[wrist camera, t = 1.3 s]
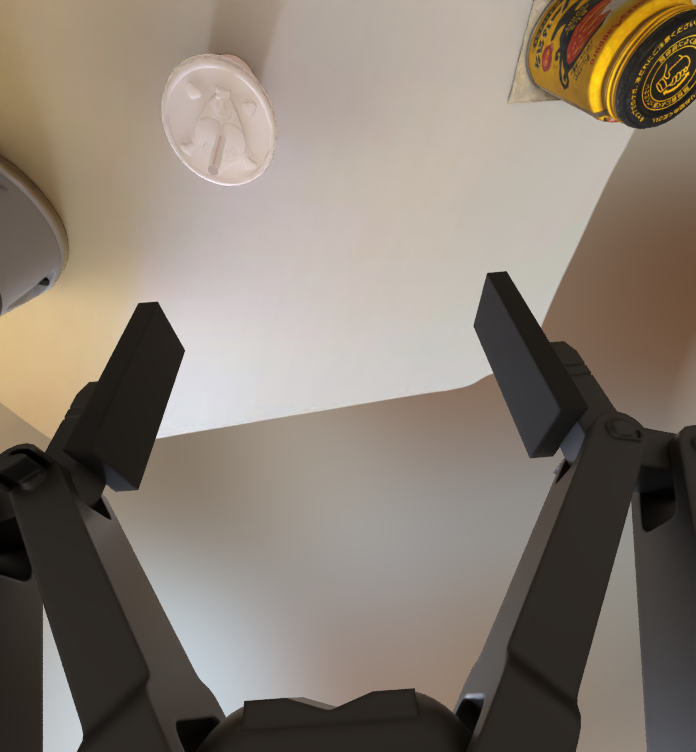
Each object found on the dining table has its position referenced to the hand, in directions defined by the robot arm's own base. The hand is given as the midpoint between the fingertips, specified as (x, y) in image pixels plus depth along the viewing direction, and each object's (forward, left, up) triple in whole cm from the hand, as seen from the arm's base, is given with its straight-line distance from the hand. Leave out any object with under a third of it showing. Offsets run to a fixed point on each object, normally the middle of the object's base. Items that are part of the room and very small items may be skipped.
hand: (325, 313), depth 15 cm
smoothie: (-5, +3, -23) cm, 24 cm away
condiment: (+21, +7, -23) cm, 32 cm away
